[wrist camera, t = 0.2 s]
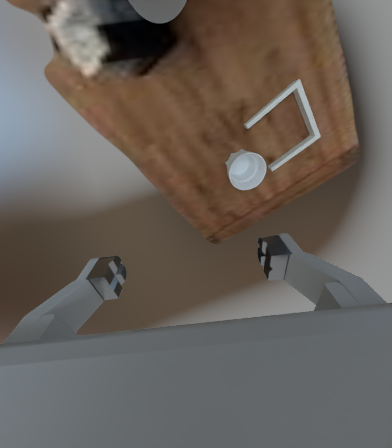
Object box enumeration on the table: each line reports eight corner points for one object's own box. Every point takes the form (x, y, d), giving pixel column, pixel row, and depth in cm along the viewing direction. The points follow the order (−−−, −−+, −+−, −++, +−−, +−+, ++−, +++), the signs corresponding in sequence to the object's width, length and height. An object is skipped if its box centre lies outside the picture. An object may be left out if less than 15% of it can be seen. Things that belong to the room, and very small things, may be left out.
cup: (251, 141, 51) (264, 147, 43) (255, 173, 56) (267, 183, 48) (219, 153, 52) (225, 160, 44) (226, 183, 57) (232, 194, 49)
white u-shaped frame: (269, 169, 56) (272, 171, 54) (243, 124, 48) (246, 125, 46) (315, 135, 51) (320, 136, 49) (294, 80, 44) (299, 79, 41)
